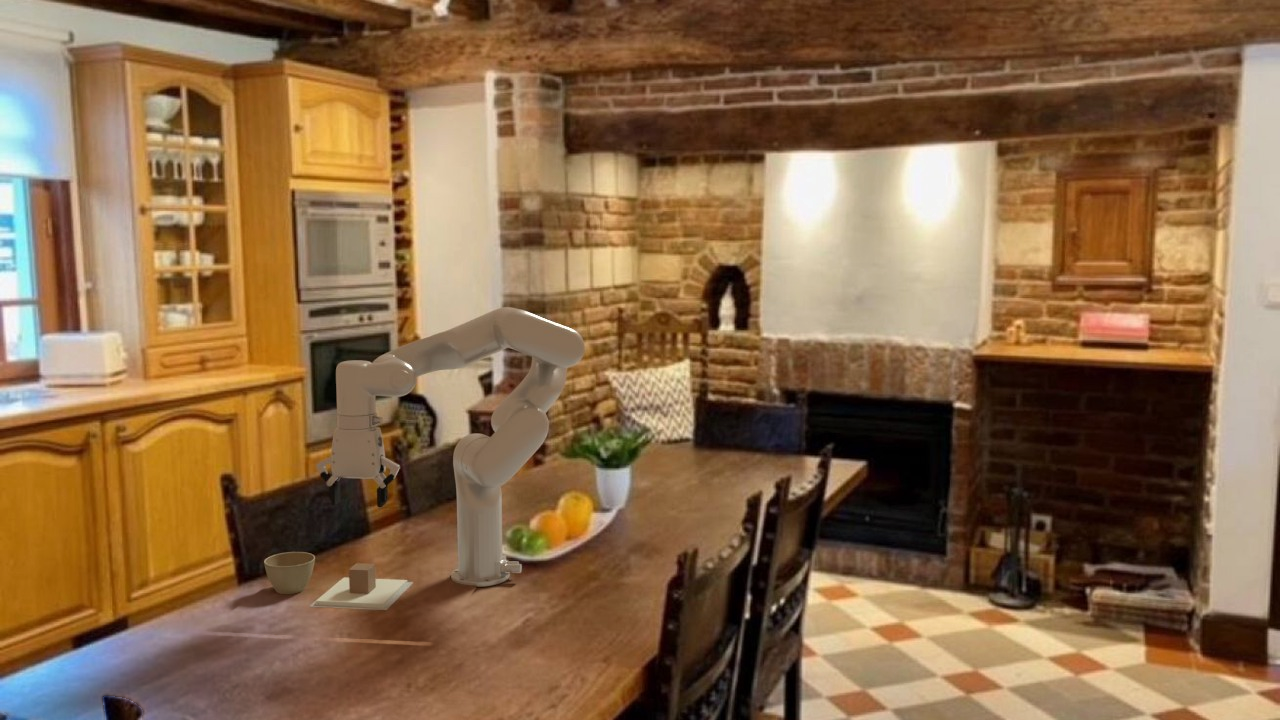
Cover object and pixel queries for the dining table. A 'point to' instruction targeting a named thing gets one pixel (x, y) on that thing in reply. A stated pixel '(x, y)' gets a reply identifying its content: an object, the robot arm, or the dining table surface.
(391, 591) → the lid
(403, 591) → the mat
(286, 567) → the flower pot
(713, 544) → the dining table surface
